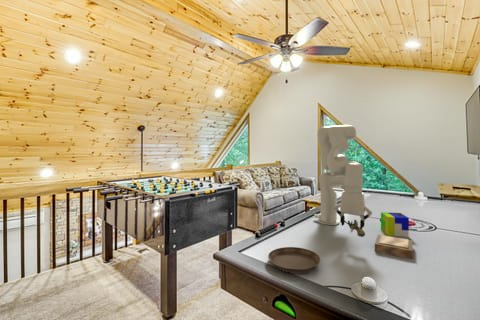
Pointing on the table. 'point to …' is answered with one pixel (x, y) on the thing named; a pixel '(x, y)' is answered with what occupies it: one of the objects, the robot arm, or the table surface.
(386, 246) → the walnut tray
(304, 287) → the table surface
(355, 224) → the eagle figurine
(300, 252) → the plant saucer
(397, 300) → the table surface
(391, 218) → the puzzle toy
